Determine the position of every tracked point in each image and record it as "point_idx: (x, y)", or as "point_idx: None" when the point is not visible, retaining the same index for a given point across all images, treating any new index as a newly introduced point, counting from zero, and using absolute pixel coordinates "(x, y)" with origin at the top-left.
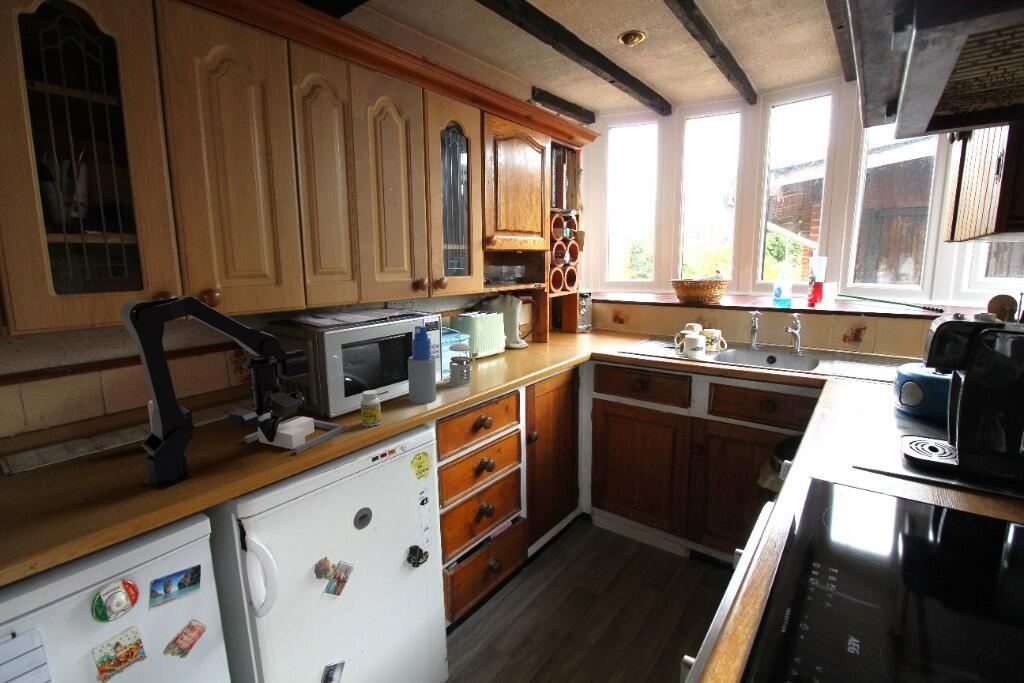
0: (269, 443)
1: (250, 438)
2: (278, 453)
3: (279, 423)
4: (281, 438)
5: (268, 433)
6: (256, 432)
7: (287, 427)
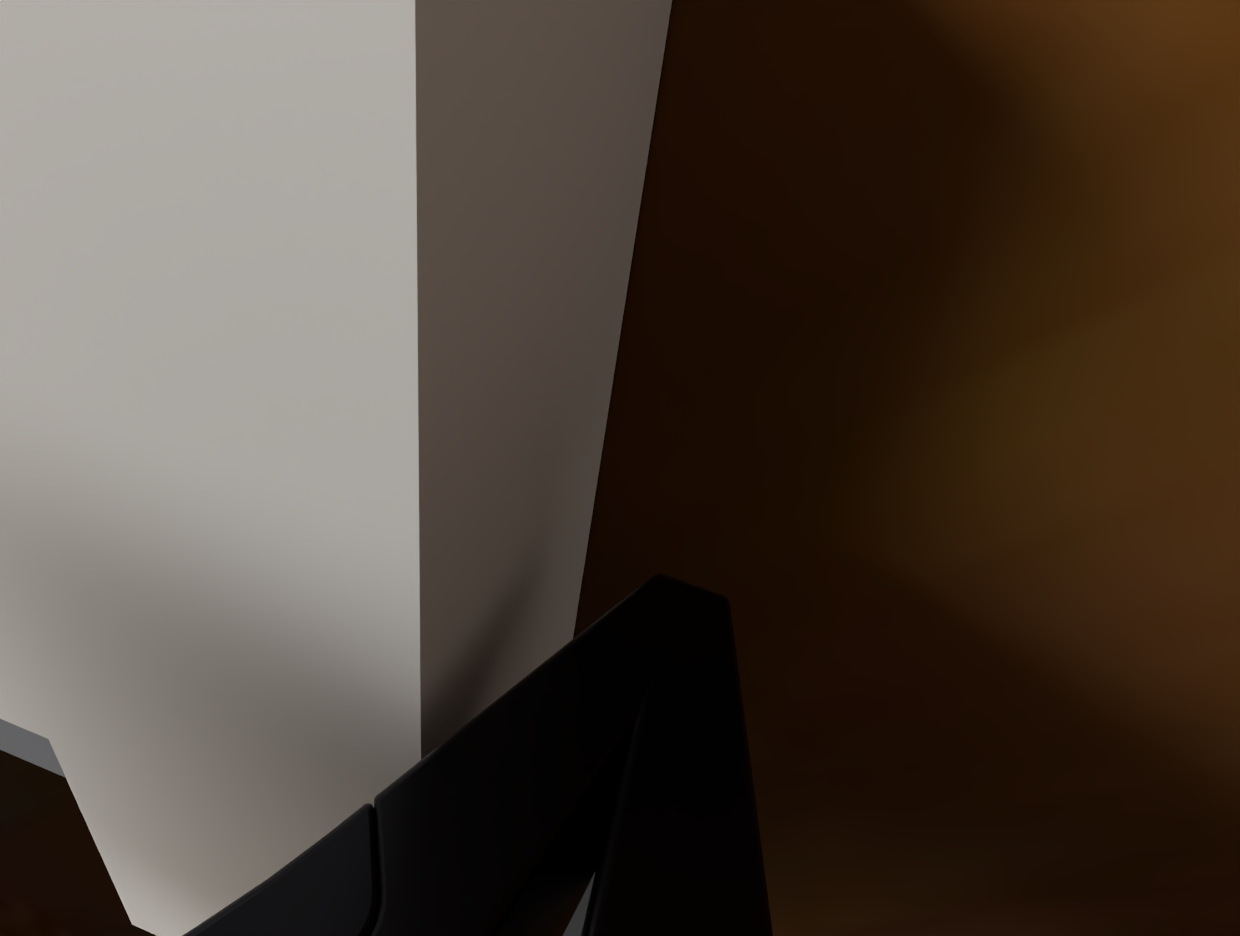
0: (572, 623)
1: (575, 921)
2: (1072, 141)
3: (19, 749)
4: (524, 431)
5: (757, 907)
6: None
7: (36, 553)
